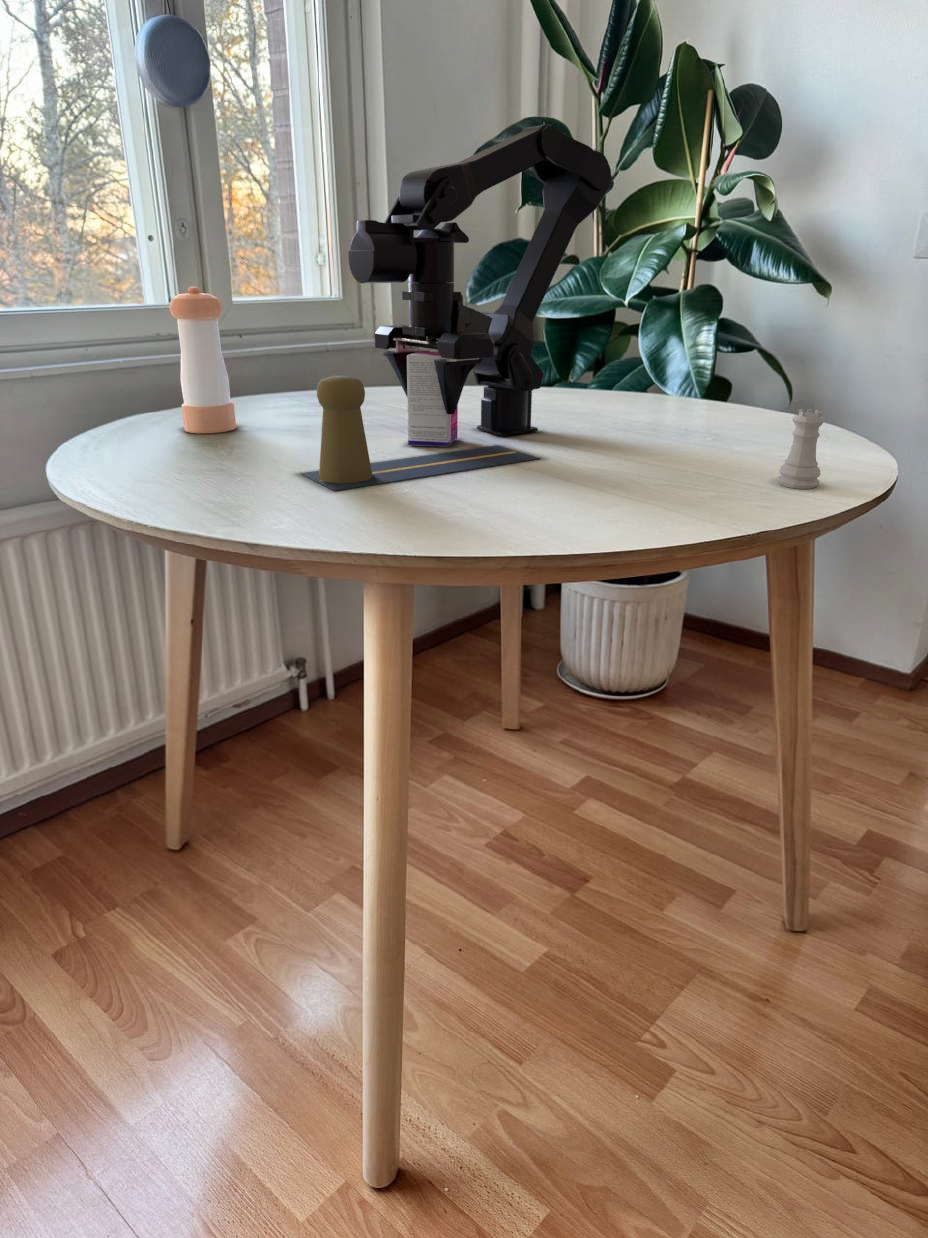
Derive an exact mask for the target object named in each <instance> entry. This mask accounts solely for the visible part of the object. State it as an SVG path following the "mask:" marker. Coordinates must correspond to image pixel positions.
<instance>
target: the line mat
mask: <svg viewBox="0 0 928 1238" xmlns="http://www.w3.org/2000/svg"><path fill="white" fill-rule="evenodd" d="M540 459H541V457H537V456H535V455H531V454H529V453H525V452H522V451H519V450H515V449H512V448H508V447H505V446H501V445H499V444H498V445H491V446H490V445H489V446H484V447H475V448H469V449H462V450H455V451H448V452H440V453H434V454H427V455H419V456H412V457H407V458H398V459H390V460H385V461H378V462H370V465H371V470H372V477H371V478H370V479H368V480H365V481H361V482H355V483H331V482H325V481H322V480H320V479H319V470H315V471H308V472H300V475H302V476H303V477H305V478H308V480H311V481H313V482H316V483H317V484H319V485H321V486H323V487H325V488H327V489H329V490H331V491H333V492H338V491H344V490H345V491H346V490H350V489H351V490H352V489H357V488H364V487H371V486H377V485H383V484H388V483H389V484H390V483H394V482H395V483H396V482H402V481H408V480H415V479H421V478H426V477H434V476H439V475H446V474H452V473H458V472H460V473H461V472H465V471H471V470H478V469H484V468H491V467H498V466H504V465H509V464H516V463H523V462H529V461H535V460H540Z"/></svg>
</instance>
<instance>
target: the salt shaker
mask: <svg viewBox="0 0 928 1238" xmlns="http://www.w3.org/2000/svg"><path fill="white" fill-rule="evenodd" d="M187 292H188V293H179V294H177V295H175V296H174V297H172V298H171V300H170V303H169V312H170V314H171V316H172V317H173V318H175V319H177V320H176V323H177V331H178V339H179V346H180V347H179V348H180V377H179V380H180V386H181V387H180V388H181V393H182V398H183V400H182V401H183V403H182V404H181V414H182V420H183V421H182V422H183V427H184V431H185V432H187V433H192V434H217V433H225V432H230V431H233V430H235V429H237V420H236V412H235V404H234V402H233V401H231V388H230V377H229V374H228V370H227V367H226V362H225V359H224V356H223V352H222V351H223V350H222V344H221V336H220V335H221V334H220V326H219V320H218V318H220V317H221V316H222V314H223V310H224V309H223V305H222V303H221V301H220V300H219V299H218V296H215V295H213V294H211V293H203V292H201V289H200V287H198V286H189V287H188V288H187Z"/></svg>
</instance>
